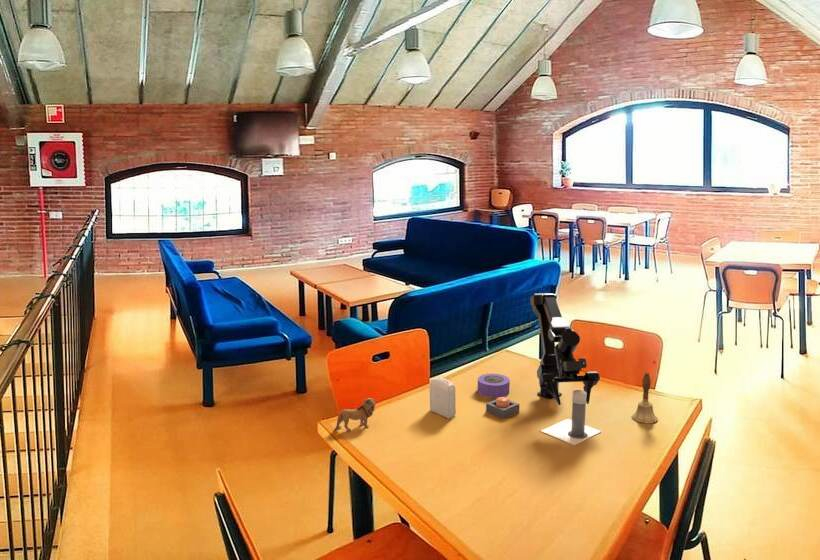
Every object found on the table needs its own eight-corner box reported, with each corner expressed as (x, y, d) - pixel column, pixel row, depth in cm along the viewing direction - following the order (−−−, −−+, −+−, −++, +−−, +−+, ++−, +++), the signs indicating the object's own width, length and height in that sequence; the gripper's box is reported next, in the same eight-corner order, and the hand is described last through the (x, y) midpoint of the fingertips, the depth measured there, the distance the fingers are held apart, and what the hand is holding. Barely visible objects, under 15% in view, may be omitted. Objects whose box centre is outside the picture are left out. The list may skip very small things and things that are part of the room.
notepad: (567, 419, 222) (567, 418, 222) (601, 432, 213) (601, 431, 212) (540, 431, 214) (540, 430, 213) (574, 445, 204) (574, 444, 204)
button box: (501, 405, 234) (502, 397, 234) (519, 412, 228) (519, 404, 228) (486, 411, 229) (486, 403, 229) (503, 418, 223) (503, 410, 223)
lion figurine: (371, 419, 224) (371, 394, 222) (378, 425, 220) (378, 399, 218) (331, 429, 218) (330, 403, 216) (337, 435, 213) (336, 409, 211)
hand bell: (627, 419, 222) (629, 373, 219) (638, 411, 228) (640, 367, 224) (651, 426, 216) (654, 379, 213) (662, 418, 222) (665, 372, 219)
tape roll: (511, 397, 242) (511, 384, 240) (479, 398, 242) (479, 385, 241) (507, 385, 253) (507, 373, 252) (476, 386, 253) (476, 373, 252)
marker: (572, 430, 213) (574, 389, 210) (585, 432, 211) (587, 391, 208) (569, 435, 209) (571, 393, 206) (583, 438, 208) (585, 395, 205)
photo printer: (427, 410, 231) (427, 376, 229) (437, 407, 234) (437, 373, 231) (448, 419, 223) (448, 384, 221) (457, 416, 226) (457, 381, 223)
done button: (502, 405, 232) (502, 395, 231) (512, 409, 228) (512, 399, 228) (493, 409, 229) (493, 399, 228) (503, 413, 226) (503, 403, 225)
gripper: (542, 349, 214) (550, 395, 206) (599, 348, 215) (609, 393, 207) (535, 364, 224) (543, 408, 216) (590, 362, 225) (599, 406, 217)
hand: (573, 404), depth 214 cm, fingers open, 9 cm apart
